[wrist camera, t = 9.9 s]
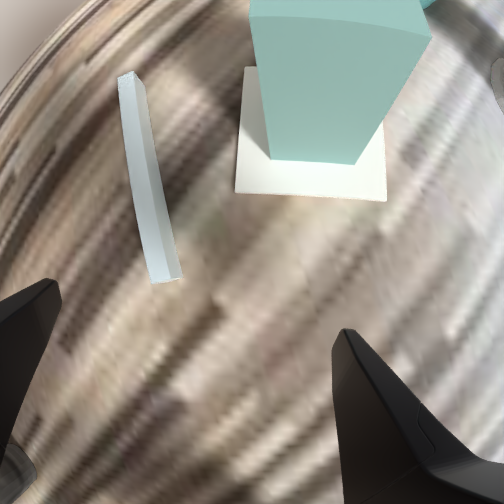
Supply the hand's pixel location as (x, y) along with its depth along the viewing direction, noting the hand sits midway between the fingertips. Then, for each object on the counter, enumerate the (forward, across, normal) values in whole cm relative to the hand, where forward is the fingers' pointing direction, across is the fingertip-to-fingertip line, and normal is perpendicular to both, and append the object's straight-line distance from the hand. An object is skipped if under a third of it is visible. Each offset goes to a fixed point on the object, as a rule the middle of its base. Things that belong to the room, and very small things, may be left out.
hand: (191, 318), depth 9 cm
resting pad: (+13, -5, -4) cm, 15 cm away
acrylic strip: (+12, +5, 0) cm, 13 cm away
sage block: (+13, -4, -4) cm, 14 cm away
